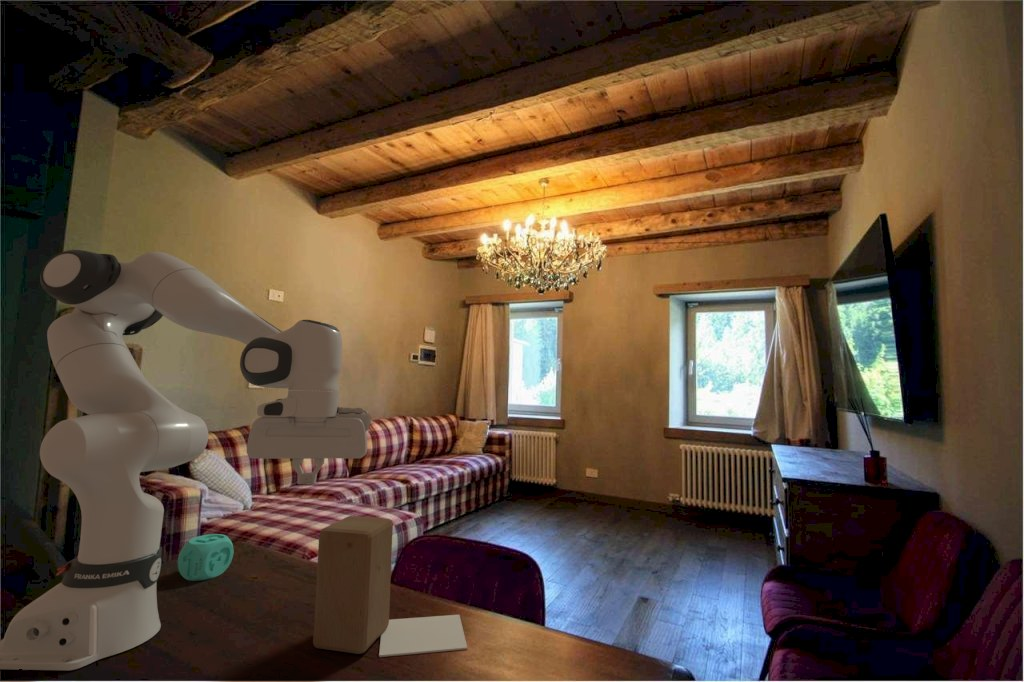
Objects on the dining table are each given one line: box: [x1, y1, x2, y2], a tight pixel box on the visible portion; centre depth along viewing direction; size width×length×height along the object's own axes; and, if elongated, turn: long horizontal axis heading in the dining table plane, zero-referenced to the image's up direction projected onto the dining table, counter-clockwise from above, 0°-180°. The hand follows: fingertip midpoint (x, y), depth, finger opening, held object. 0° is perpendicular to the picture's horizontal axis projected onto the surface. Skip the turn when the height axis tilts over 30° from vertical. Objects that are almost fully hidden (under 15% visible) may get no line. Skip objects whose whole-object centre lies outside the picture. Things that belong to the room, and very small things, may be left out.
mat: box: [378, 614, 468, 658], centre depth 83 cm, size 15×12×1 cm
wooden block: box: [312, 515, 394, 655], centre depth 82 cm, size 10×10×20 cm
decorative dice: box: [177, 533, 235, 582], centre depth 107 cm, size 8×8×8 cm
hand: (306, 483), depth 82 cm, fingers closed
